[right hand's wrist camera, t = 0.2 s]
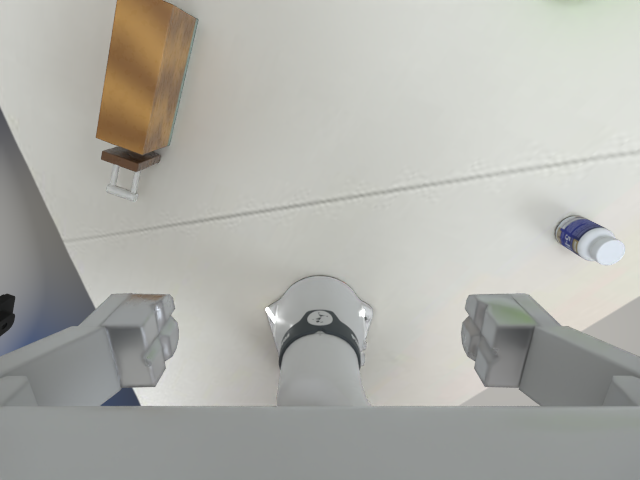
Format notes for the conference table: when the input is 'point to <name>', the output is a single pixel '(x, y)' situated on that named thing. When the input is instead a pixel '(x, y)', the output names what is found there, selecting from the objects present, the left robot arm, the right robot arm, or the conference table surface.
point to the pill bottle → (589, 240)
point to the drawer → (130, 162)
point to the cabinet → (145, 74)
